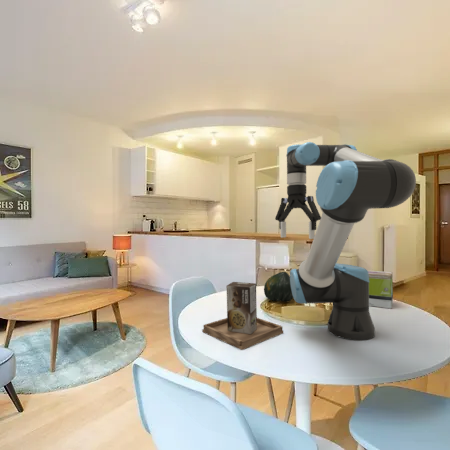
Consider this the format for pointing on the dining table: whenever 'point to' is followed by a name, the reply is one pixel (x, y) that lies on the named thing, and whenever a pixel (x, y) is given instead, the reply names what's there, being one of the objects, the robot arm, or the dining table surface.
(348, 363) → the dining table surface
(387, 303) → the tea box
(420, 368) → the dining table surface
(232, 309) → the coffee box
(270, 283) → the squash
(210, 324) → the walnut tray
